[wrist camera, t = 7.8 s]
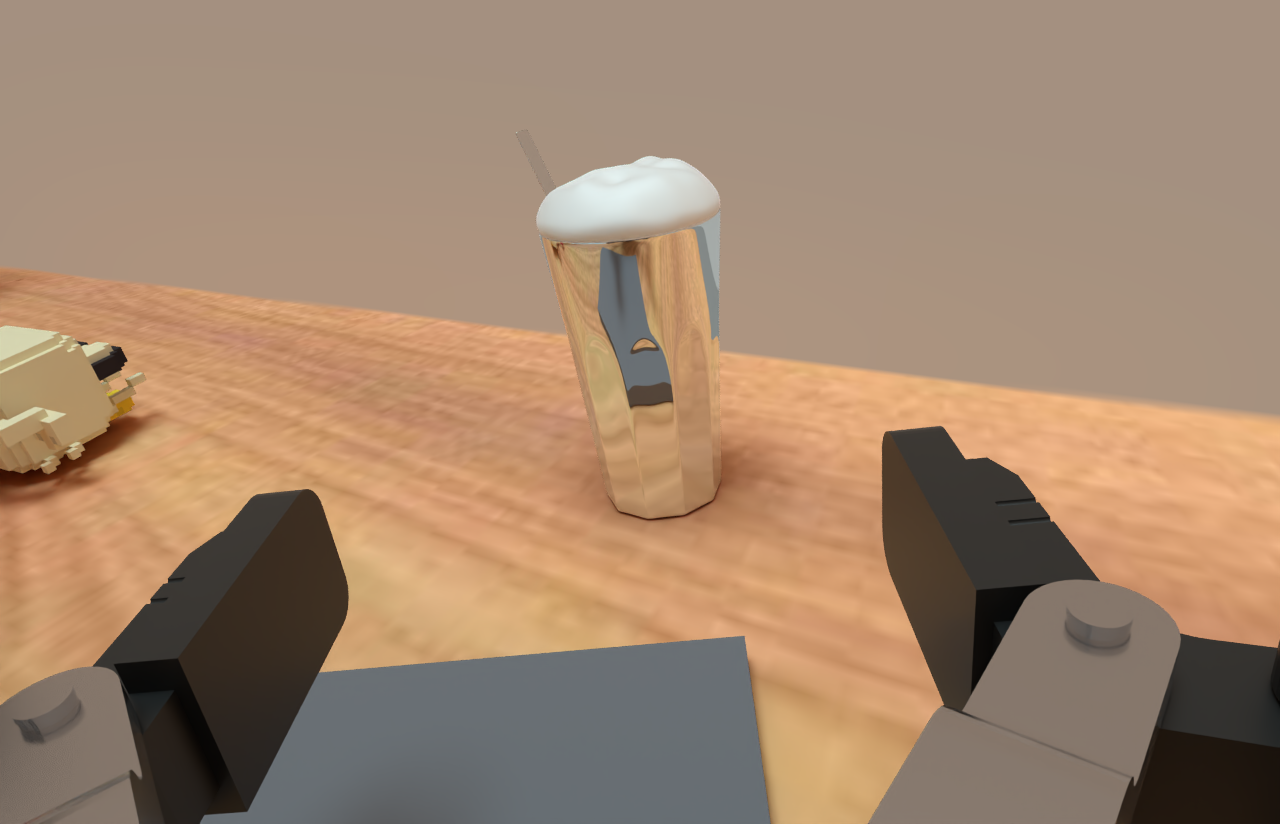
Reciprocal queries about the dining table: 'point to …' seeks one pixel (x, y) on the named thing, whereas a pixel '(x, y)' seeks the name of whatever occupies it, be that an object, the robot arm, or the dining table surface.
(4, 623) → the dining table surface
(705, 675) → the charcoal mat
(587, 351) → the milkshake
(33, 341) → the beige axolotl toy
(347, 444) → the dining table surface
